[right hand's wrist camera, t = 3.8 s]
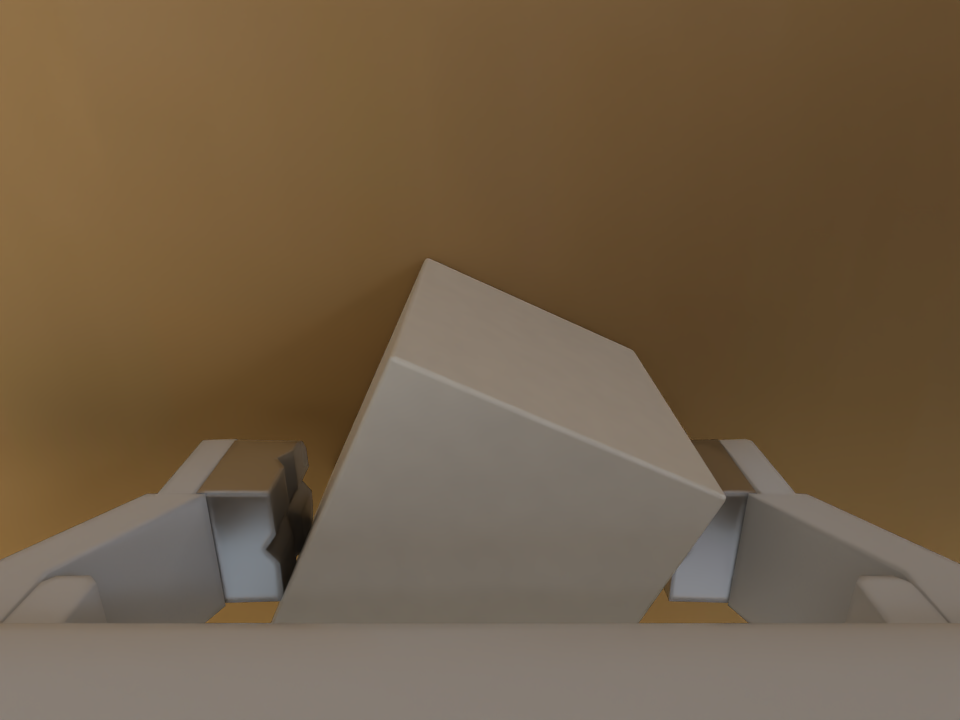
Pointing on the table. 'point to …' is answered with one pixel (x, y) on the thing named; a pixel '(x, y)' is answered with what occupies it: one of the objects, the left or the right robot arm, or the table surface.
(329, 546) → the block
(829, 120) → the table surface
